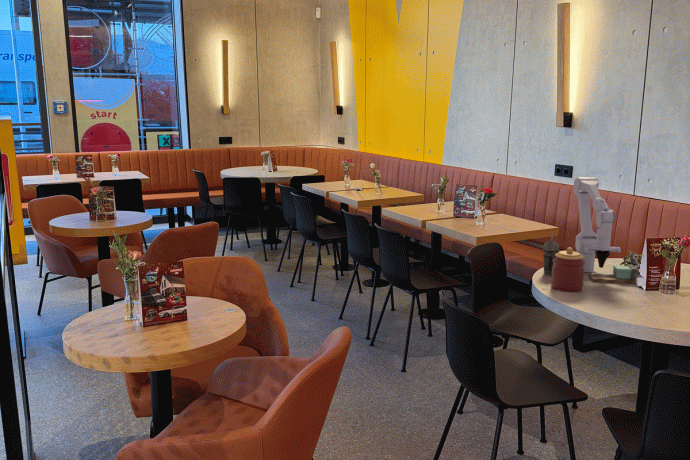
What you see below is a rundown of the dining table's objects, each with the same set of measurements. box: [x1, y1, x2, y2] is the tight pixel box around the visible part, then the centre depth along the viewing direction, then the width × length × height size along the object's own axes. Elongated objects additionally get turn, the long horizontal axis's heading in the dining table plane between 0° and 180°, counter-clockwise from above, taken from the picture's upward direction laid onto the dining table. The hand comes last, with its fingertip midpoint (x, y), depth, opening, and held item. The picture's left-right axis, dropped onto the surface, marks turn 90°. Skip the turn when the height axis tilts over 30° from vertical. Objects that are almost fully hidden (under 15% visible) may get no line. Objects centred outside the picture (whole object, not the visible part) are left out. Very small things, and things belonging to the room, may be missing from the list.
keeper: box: [612, 264, 632, 279], centre depth 265 cm, size 6×6×4 cm
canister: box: [550, 246, 585, 293], centre depth 253 cm, size 13×13×18 cm
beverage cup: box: [542, 231, 560, 277], centre depth 273 cm, size 7×7×20 cm
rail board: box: [587, 263, 638, 285], centre depth 266 cm, size 18×10×6 cm, turn 80°
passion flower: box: [619, 250, 643, 274], centre depth 280 cm, size 11×11×12 cm
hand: (600, 267), depth 266 cm, fingers closed
